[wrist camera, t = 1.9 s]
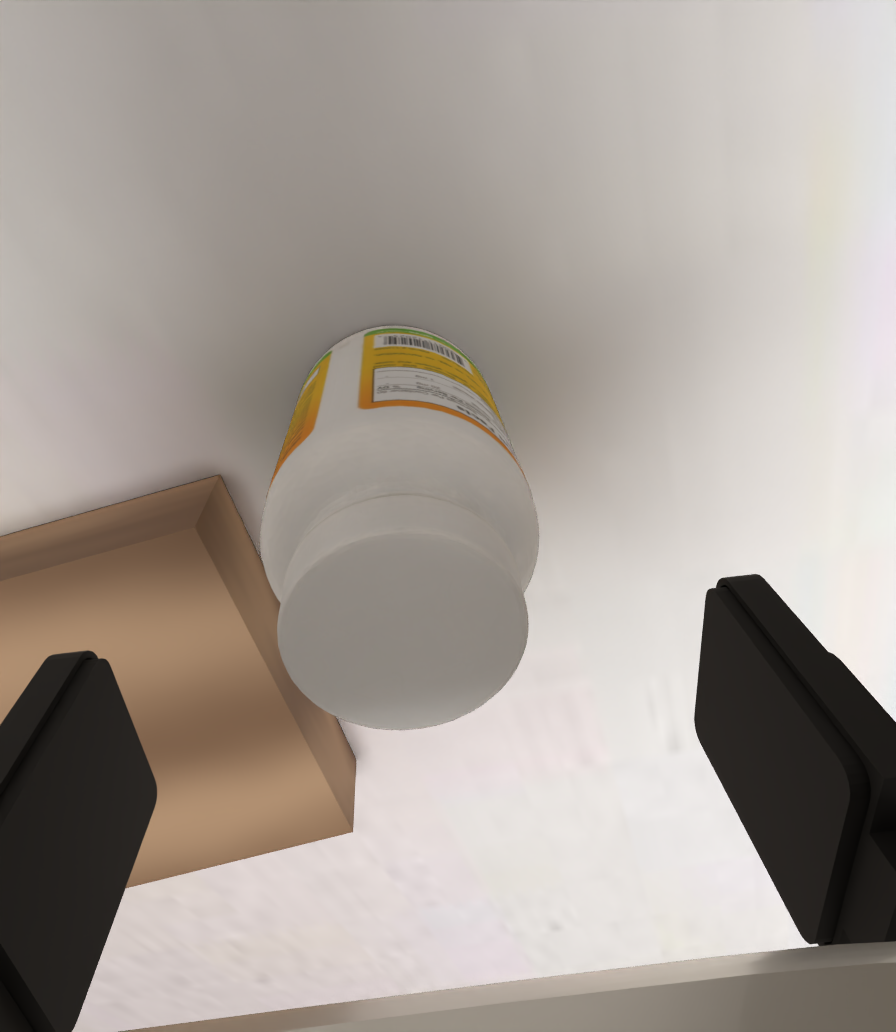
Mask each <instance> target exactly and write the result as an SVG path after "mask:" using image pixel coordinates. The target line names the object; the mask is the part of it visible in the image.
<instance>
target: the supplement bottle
mask: <svg viewBox="0 0 896 1032" xmlns="http://www.w3.org/2000/svg"><path fill="white" fill-rule="evenodd" d="M538 546H539V527H538V518H537V513H536V509H535V505H534V502H533V498H532V495H531V490H530V488H529V485H528V483H527V480H526V478H525V476H524V473H523V471H522V469H521V467H520V464H519V462H518V460H517V458H516V455H515V453H514V450H513V448H512V445H511V443H510V440H509V438H508V435H507V432H506V430H505V428H504V425H503V423H502V420H501V418H500V415H499V413H498V410H497V408H496V405H495V403H494V400H493V398H492V395H491V393H490V391H489V388H488V386H487V384H486V382H485V380H484V378H483V376H482V374H481V373H480V371H479V370H478V368H477V367H476V366H475V364H474V363H473V362H472V361H471V359H470V358H469V357H468V356H467V355H466V354H464V353H463V352H462V351H461V350H460V349H459V348H458V347H456V346H455V345H454V344H452V343H451V342H449V341H447V340H446V339H444V338H442V337H440V336H438V335H436V334H434V333H431V332H428V331H426V330H422V329H418V328H414V327H408V326H381V327H375V328H370V329H367V330H363V331H361V332H358V333H355V334H353V335H351V336H349V337H347V338H345V339H343V340H342V341H340V342H339V343H337V344H336V345H334V346H333V347H332V348H331V349H329V350H328V351H327V352H326V353H325V354H324V355H323V356H322V357H321V358H320V359H319V360H318V362H317V363H316V364H315V365H314V367H313V368H312V370H311V371H310V373H309V375H308V377H307V378H306V380H305V383H304V385H303V387H302V389H301V392H300V395H299V397H298V400H297V404H296V407H295V410H294V414H293V417H292V420H291V423H290V426H289V430H288V433H287V435H286V438H285V442H284V445H283V447H282V451H281V453H280V457H279V460H278V463H277V465H276V469H275V472H274V475H273V477H272V481H271V484H270V487H269V491H268V494H267V498H266V502H265V507H264V512H263V516H262V522H261V530H260V548H261V556H262V561H263V565H264V569H265V572H266V576H267V578H268V581H269V583H270V586H271V588H272V590H273V592H274V594H275V595H276V597H277V599H278V600H279V602H280V603H281V604H280V609H279V615H278V623H277V636H278V647H279V650H280V654H281V658H282V661H283V663H284V665H285V667H286V670H287V672H288V674H289V675H290V677H291V679H292V681H293V682H294V683H295V684H296V686H297V687H298V688H299V689H300V691H301V692H302V693H303V694H304V695H305V696H306V697H308V698H309V699H310V700H311V701H312V702H313V703H314V704H316V705H317V706H318V707H320V708H322V709H323V710H325V711H326V712H328V713H330V714H332V715H334V716H336V717H338V718H341V719H343V720H345V721H348V722H351V723H354V724H358V725H361V726H365V727H370V728H375V729H385V730H409V729H421V728H426V727H432V726H437V725H440V724H443V723H446V722H450V721H453V720H455V719H457V718H459V717H461V716H463V715H466V714H468V713H470V712H472V711H474V710H475V709H477V708H479V707H480V706H482V705H483V704H484V703H486V702H487V701H488V700H489V699H491V698H492V697H493V696H494V695H495V694H497V693H498V692H499V691H500V690H501V689H502V688H503V687H504V686H505V684H506V683H507V682H508V680H509V679H510V678H511V677H512V675H513V673H514V672H515V670H516V669H517V667H518V665H519V662H520V660H521V658H522V656H523V654H524V650H525V647H526V643H527V636H528V613H527V607H526V602H525V598H524V592H525V590H526V588H527V586H528V584H529V582H530V580H531V577H532V575H533V571H534V568H535V565H536V561H537V555H538Z"/></svg>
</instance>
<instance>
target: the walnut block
mask: <svg viewBox="0 0 896 1032" xmlns="http://www.w3.org/2000/svg"><path fill="white" fill-rule="evenodd" d="M280 604H281V603H280V602H279V600H278V599H277V597H276V595H275V594H274V592H273V590H272V588H271V586H270V583H269V581H268V578H267V576H266V572H265V569H264V566H263V564H262V562H261V560H260V558H259V556H258V553H257V551H256V549H255V547H254V545H253V543H252V541H251V539H250V537H249V535H248V533H247V530H246V528H245V526H244V524H243V522H242V520H241V518H240V516H239V514H238V512H237V509H236V507H235V505H234V503H233V501H232V499H231V497H230V495H229V493H228V491H227V489H226V486H225V484H224V482H223V480H222V478H221V476H220V475H217V476H214V477H210V478H207V479H203V480H200V481H196V482H192V483H189V484H185V485H182V486H178V487H175V488H171V489H168V490H164V491H161V492H157V493H153V494H150V495H146V496H143V497H139V498H136V499H132V500H129V501H125V502H122V503H118V504H114V505H111V506H107V507H104V508H100V509H97V510H93V511H90V512H86V513H83V514H79V515H75V516H72V517H68V518H65V519H61V520H58V521H54V522H51V523H47V524H44V525H40V526H36V527H33V528H29V529H26V530H22V531H19V532H15V533H12V534H8V535H5V536H1V537H0V724H1V723H2V721H3V720H4V719H5V717H6V716H7V714H8V713H9V711H10V710H11V708H12V707H13V706H14V704H15V703H16V701H17V700H18V698H19V697H20V695H21V694H22V692H23V691H24V690H25V688H26V687H27V685H28V684H29V682H30V681H31V679H32V678H33V676H34V675H35V674H36V672H37V671H38V669H39V668H40V666H41V665H42V663H43V662H44V661H45V659H46V658H47V657H48V656H50V655H53V654H61V653H69V652H78V651H87V650H89V651H93V652H94V653H95V654H96V655H97V657H98V659H100V658H104V659H106V660H107V661H108V662H109V664H110V666H111V668H112V671H113V673H114V676H115V678H116V681H117V684H118V686H119V689H120V691H121V694H122V696H123V699H124V701H125V704H126V706H127V709H128V712H129V714H130V717H131V719H132V722H133V724H134V727H135V729H136V732H137V734H138V737H139V740H140V742H141V745H142V747H143V750H144V752H145V755H146V757H147V760H148V762H149V765H150V768H151V770H152V773H153V775H154V778H155V781H156V784H157V801H156V805H155V808H154V811H153V814H152V817H151V819H150V822H149V825H148V828H147V830H146V833H145V836H144V839H143V841H142V844H141V847H140V850H139V852H138V855H137V858H136V860H135V863H134V866H133V869H132V871H131V874H130V877H129V880H128V882H127V885H126V888H129V887H133V886H137V885H141V884H145V883H149V882H153V881H157V880H161V879H165V878H169V877H173V876H177V875H181V874H185V873H189V872H193V871H197V870H201V869H205V868H209V867H213V866H217V865H221V864H225V863H230V862H234V861H238V860H242V859H246V858H250V857H254V856H258V855H262V854H266V853H270V852H274V851H278V850H282V849H286V848H290V847H294V846H298V845H302V844H306V843H310V842H314V841H318V840H322V839H326V838H330V837H334V836H339V835H343V834H347V833H351V832H353V820H354V798H355V777H356V759H355V756H354V754H353V752H352V750H351V748H350V746H349V744H348V742H347V740H346V738H345V736H344V733H343V731H342V729H341V727H340V725H339V723H338V721H337V719H336V717H335V716H334V715H332V714H330V713H328V712H326V711H325V710H323V709H322V708H320V707H318V706H317V705H316V704H314V703H313V702H312V701H311V700H310V699H309V698H308V697H306V696H305V695H304V694H303V693H302V692H301V691H300V689H299V688H298V687H297V686H296V684H295V683H294V682H293V681H292V679H291V677H290V675H289V674H288V672H287V670H286V667H285V665H284V663H283V661H282V658H281V654H280V650H279V647H278V636H277V623H278V615H279V609H280Z"/></svg>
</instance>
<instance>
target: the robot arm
mask: <svg viewBox="0 0 896 1032" xmlns="http://www.w3.org/2000/svg"><path fill="white" fill-rule="evenodd" d="M694 721H695V728H696V733H697V736H698V739H699V741H700V743H701V745H702V747H703V749H704V751H705V753H706V755H707V757H708V759H709V760H710V762H711V764H712V766H713V768H714V770H715V772H716V774H717V776H718V778H719V780H720V781H721V783H722V785H723V787H724V789H725V791H726V793H727V795H728V797H729V799H730V801H731V803H732V804H733V806H734V808H735V810H736V812H737V814H738V816H739V818H740V820H741V822H742V824H743V825H744V827H745V829H746V831H747V833H748V835H749V837H750V839H751V841H752V843H753V845H754V847H755V848H756V850H757V852H758V854H759V856H760V858H761V860H762V862H763V864H764V866H765V868H766V869H767V871H768V873H769V875H770V877H771V879H772V881H773V883H774V885H775V887H776V889H777V891H778V892H779V894H780V896H781V898H782V900H783V902H784V904H785V906H786V908H787V910H788V912H789V913H790V915H791V917H792V919H793V921H794V923H795V925H796V927H797V929H798V931H799V932H800V934H801V936H802V937H803V938H804V940H805V941H806V942H807V943H809V944H816V943H818V945H819V946H817V947H807V948H797V949H788V950H778V951H768V952H758V953H748V954H738V955H728V956H719V957H710V958H701V959H693V960H685V961H676V962H668V963H660V964H651V965H643V966H635V967H626V968H618V969H610V970H601V971H593V972H585V973H576V974H568V975H560V976H551V977H543V978H534V979H526V980H518V981H510V982H502V983H494V984H486V985H478V986H470V987H462V988H454V989H446V990H438V991H430V992H422V993H414V994H406V995H398V996H390V997H382V998H374V999H366V1000H358V1001H351V1002H343V1003H335V1004H327V1005H319V1006H311V1007H303V1008H295V1009H287V1010H280V1011H272V1012H265V1013H257V1014H249V1015H242V1016H234V1017H227V1018H219V1019H211V1020H204V1021H196V1022H189V1023H181V1024H173V1025H166V1026H158V1027H150V1028H143V1029H135V1030H128V1031H120V1032H896V722H895V721H894V720H893V719H892V718H891V716H890V715H889V714H888V713H887V712H886V711H885V710H884V709H883V707H882V706H881V705H880V704H879V703H878V702H877V701H876V700H875V698H874V697H873V696H872V695H871V694H870V693H869V692H868V690H867V689H866V688H865V687H864V686H863V685H862V684H861V683H860V681H859V680H858V679H857V678H856V677H855V676H854V675H853V674H852V672H851V671H850V670H849V669H848V668H847V667H846V666H845V665H844V663H843V662H842V661H841V660H840V659H839V658H837V657H836V656H835V655H834V654H832V653H829V652H828V651H827V650H826V649H825V648H824V647H823V646H822V644H821V643H820V642H819V641H818V640H817V639H816V638H815V636H814V635H813V634H812V633H811V632H810V631H809V630H808V628H807V627H806V626H805V625H804V624H803V623H802V622H801V620H800V619H799V618H798V617H797V616H796V615H795V614H794V613H793V611H792V610H791V609H790V608H789V607H788V606H787V605H786V603H785V602H784V601H783V600H782V599H781V598H780V597H779V595H778V594H777V593H776V592H775V591H774V590H773V589H772V587H771V586H770V585H769V584H768V583H767V582H766V581H765V579H764V578H763V577H761V576H760V575H757V574H752V575H743V576H735V577H726V578H721V579H720V580H719V581H718V583H717V586H716V588H711V589H709V590H708V591H707V593H706V600H705V610H704V621H703V631H702V642H701V652H700V663H699V673H698V684H697V694H696V705H695V716H694ZM156 801H157V784H156V781H155V778H154V775H153V773H152V770H151V768H150V765H149V762H148V760H147V757H146V755H145V752H144V750H143V747H142V745H141V742H140V740H139V737H138V734H137V732H136V729H135V727H134V724H133V722H132V719H131V717H130V714H129V712H128V709H127V706H126V704H125V701H124V699H123V696H122V694H121V691H120V689H119V686H118V684H117V681H116V678H115V676H114V673H113V671H112V668H111V666H110V664H109V662H108V661H107V660H106V659H104V658H100V659H98V657H97V655H96V654H95V653H94V652H93V651H89V650H87V651H78V652H69V653H61V654H53V655H50V656H48V657H47V658H46V659H45V661H44V662H43V663H42V665H41V666H40V668H39V669H38V671H37V672H36V674H35V675H34V676H33V678H32V679H31V681H30V682H29V684H28V685H27V687H26V688H25V690H24V691H23V692H22V694H21V695H20V697H19V698H18V700H17V701H16V703H15V704H14V706H13V707H12V708H11V710H10V711H9V713H8V714H7V716H6V717H5V719H4V720H3V721H2V723H1V724H0V1032H72V1030H73V1029H74V1026H75V1024H76V1022H77V1019H78V1017H79V1014H80V1011H81V1009H82V1006H83V1003H84V1000H85V998H86V995H87V992H88V989H89V987H90V984H91V981H92V978H93V976H94V973H95V970H96V967H97V965H98V962H99V959H100V956H101V954H102V951H103V948H104V945H105V943H106V940H107V937H108V935H109V932H110V929H111V926H112V924H113V921H114V918H115V915H116V913H117V910H118V907H119V904H120V902H121V899H122V896H123V893H124V891H125V888H126V885H127V882H128V880H129V877H130V874H131V871H132V869H133V866H134V863H135V860H136V858H137V855H138V852H139V850H140V847H141V844H142V841H143V839H144V836H145V833H146V830H147V828H148V825H149V822H150V819H151V817H152V814H153V811H154V808H155V805H156Z"/></svg>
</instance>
